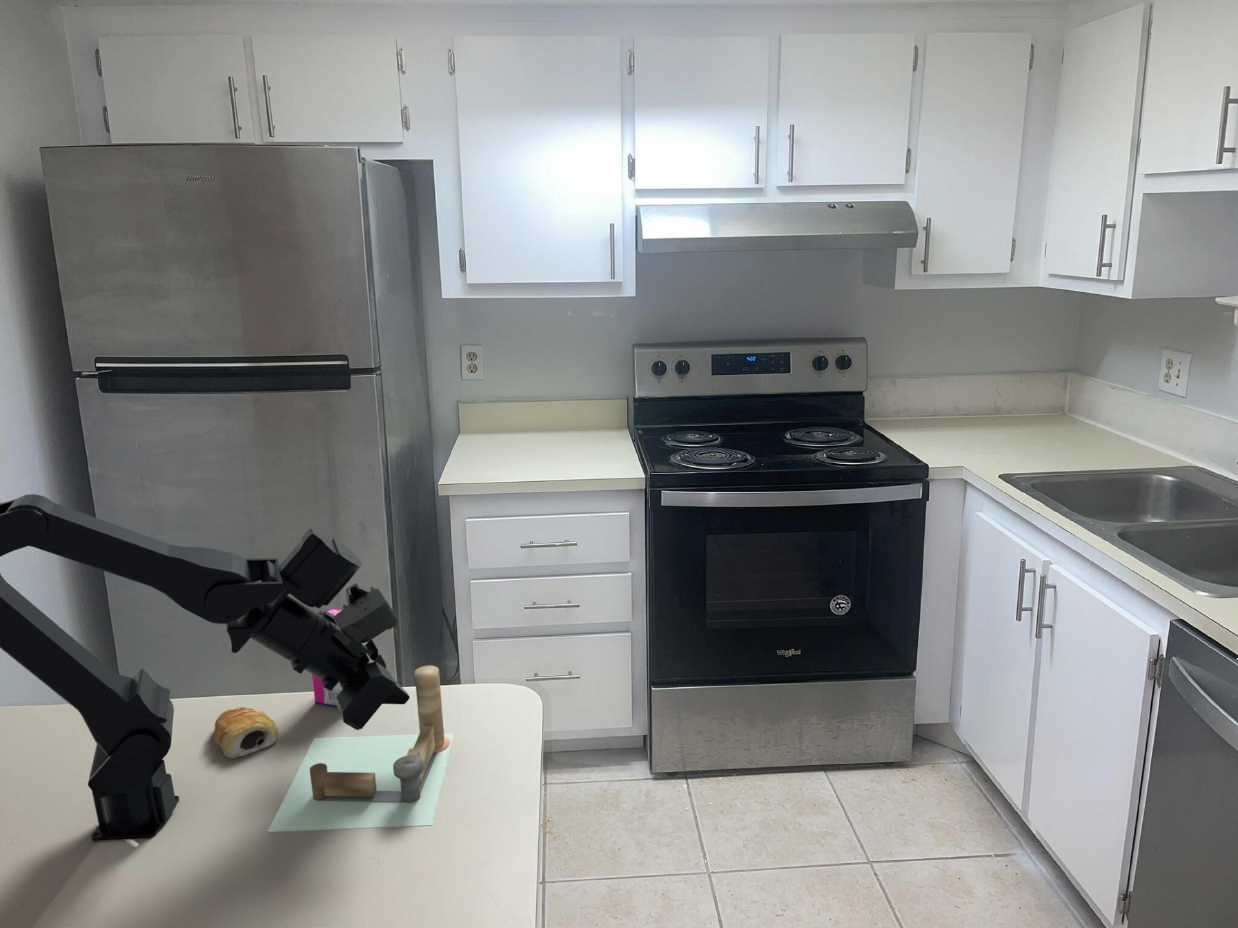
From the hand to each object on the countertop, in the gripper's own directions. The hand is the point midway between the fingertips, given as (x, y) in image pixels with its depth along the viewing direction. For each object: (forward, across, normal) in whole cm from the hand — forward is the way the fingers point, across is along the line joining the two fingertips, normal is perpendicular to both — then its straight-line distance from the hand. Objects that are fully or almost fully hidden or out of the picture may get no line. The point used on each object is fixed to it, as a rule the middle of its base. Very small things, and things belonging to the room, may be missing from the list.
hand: (406, 699), depth 105 cm
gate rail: (+4, -5, +4) cm, 8 cm away
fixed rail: (0, -7, +9) cm, 12 cm away
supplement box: (+2, +16, +8) cm, 18 cm away
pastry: (-7, +12, +18) cm, 22 cm away
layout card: (+1, -4, +9) cm, 10 cm away
